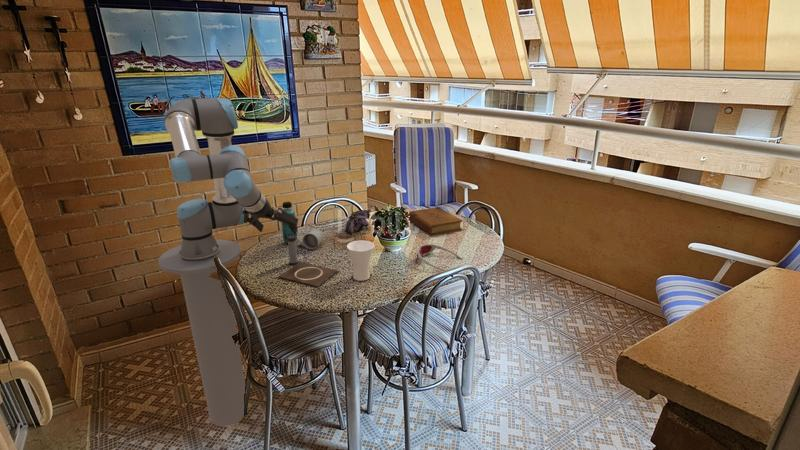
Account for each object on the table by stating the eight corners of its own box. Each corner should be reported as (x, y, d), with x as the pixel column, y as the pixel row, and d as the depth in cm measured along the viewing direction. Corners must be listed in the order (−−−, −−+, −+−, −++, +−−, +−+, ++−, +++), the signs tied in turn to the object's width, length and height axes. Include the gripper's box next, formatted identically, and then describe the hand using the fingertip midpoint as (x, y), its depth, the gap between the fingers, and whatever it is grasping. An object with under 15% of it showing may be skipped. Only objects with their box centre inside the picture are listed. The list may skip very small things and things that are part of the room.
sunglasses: (425, 249, 185) (428, 239, 183) (460, 262, 179) (462, 253, 177) (408, 263, 171) (410, 253, 169) (445, 279, 165) (447, 268, 163)
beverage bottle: (289, 239, 196) (285, 199, 189) (300, 241, 193) (297, 201, 186) (280, 244, 191) (276, 203, 184) (291, 246, 188) (287, 205, 181)
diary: (408, 221, 220) (408, 211, 218) (438, 216, 228) (438, 206, 226) (430, 236, 201) (430, 225, 199) (461, 230, 209) (462, 219, 207)
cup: (360, 268, 167) (359, 238, 163) (380, 275, 162) (379, 244, 157) (342, 278, 159) (341, 246, 155) (363, 286, 154) (362, 253, 149)
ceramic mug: (325, 243, 192) (323, 227, 189) (318, 250, 184) (317, 234, 182) (304, 241, 194) (302, 226, 191) (296, 248, 186) (295, 232, 184)
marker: (288, 264, 171) (285, 237, 167) (293, 260, 174) (290, 234, 170) (294, 265, 170) (292, 239, 166) (299, 262, 173) (297, 236, 168)
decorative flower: (343, 207, 211) (370, 201, 208) (351, 225, 217) (378, 218, 214) (338, 224, 199) (366, 217, 196) (347, 242, 206) (375, 236, 202)
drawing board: (279, 277, 160) (278, 276, 159) (301, 263, 172) (301, 262, 171) (317, 287, 153) (317, 285, 152) (337, 271, 165) (337, 270, 164)
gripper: (217, 211, 136) (245, 236, 155) (288, 215, 133) (308, 240, 152) (223, 192, 139) (250, 219, 158) (293, 195, 136) (312, 222, 155)
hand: (278, 229), depth 155 cm, fingers open, 13 cm apart
